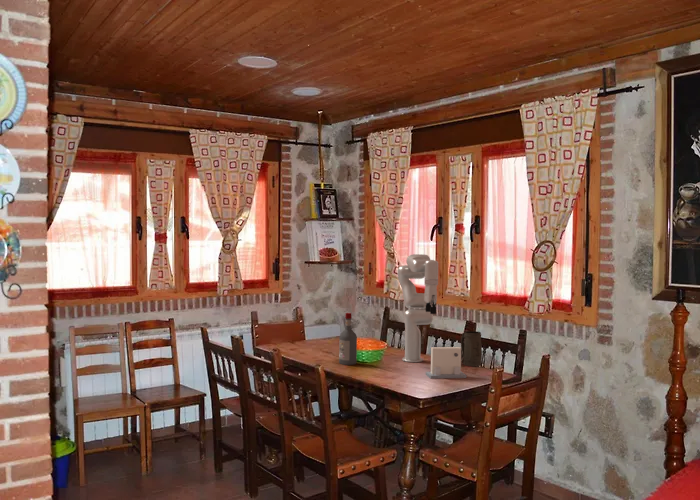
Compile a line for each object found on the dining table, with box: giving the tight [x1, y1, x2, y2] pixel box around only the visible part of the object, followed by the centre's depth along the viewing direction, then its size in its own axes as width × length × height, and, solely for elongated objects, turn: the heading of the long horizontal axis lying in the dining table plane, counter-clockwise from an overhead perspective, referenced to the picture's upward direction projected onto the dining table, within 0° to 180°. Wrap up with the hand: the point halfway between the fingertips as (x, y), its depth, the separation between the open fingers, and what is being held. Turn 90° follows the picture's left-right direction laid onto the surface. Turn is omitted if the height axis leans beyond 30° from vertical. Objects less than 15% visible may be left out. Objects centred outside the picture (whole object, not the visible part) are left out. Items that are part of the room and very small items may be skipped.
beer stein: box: [460, 330, 483, 367], centre depth 364 cm, size 15×11×20 cm
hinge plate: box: [425, 367, 467, 379], centre depth 330 cm, size 10×20×6 cm, turn 98°
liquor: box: [338, 312, 358, 366], centre depth 360 cm, size 9×9×30 cm
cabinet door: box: [430, 346, 462, 374], centre depth 329 cm, size 4×16×14 cm, turn 98°
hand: (430, 312), depth 340 cm, fingers open, 9 cm apart
